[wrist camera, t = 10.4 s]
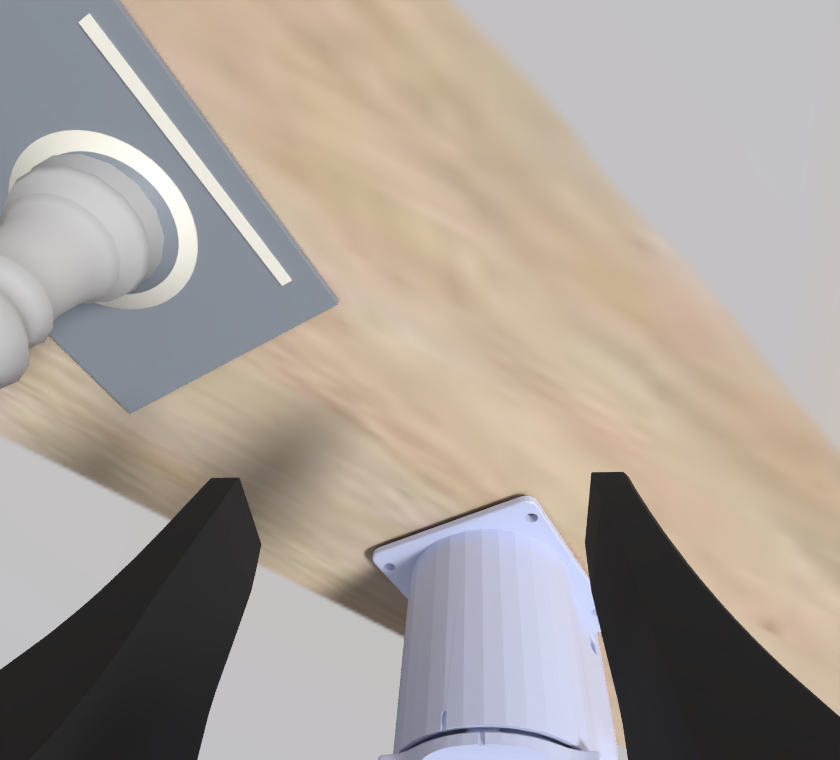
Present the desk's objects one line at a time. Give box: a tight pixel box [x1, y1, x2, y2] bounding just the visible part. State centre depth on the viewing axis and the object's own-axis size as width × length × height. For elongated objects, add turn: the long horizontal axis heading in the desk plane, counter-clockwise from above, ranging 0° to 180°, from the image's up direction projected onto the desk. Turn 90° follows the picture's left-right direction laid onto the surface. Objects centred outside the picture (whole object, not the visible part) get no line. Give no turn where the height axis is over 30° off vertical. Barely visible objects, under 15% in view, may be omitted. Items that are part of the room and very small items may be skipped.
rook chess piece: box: [0, 154, 164, 389], centre depth 17 cm, size 4×4×8 cm
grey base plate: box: [0, 0, 339, 414], centre depth 21 cm, size 12×10×1 cm
